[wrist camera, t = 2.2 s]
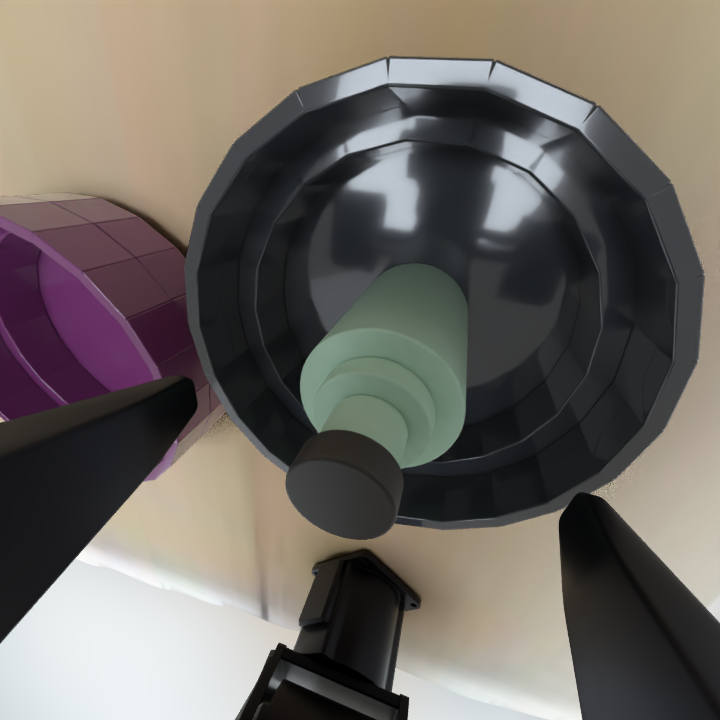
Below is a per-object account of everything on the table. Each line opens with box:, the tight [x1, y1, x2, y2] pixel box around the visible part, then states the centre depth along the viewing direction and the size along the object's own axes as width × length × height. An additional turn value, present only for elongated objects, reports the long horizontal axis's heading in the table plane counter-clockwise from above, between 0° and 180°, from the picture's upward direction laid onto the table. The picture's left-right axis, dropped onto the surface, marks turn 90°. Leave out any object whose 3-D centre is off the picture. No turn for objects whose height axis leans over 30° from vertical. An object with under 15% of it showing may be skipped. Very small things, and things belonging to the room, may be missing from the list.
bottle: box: [286, 263, 468, 540], centre depth 10 cm, size 4×4×10 cm
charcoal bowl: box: [184, 56, 705, 530], centre depth 12 cm, size 15×15×5 cm
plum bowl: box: [0, 193, 226, 482], centre depth 18 cm, size 15×15×5 cm
